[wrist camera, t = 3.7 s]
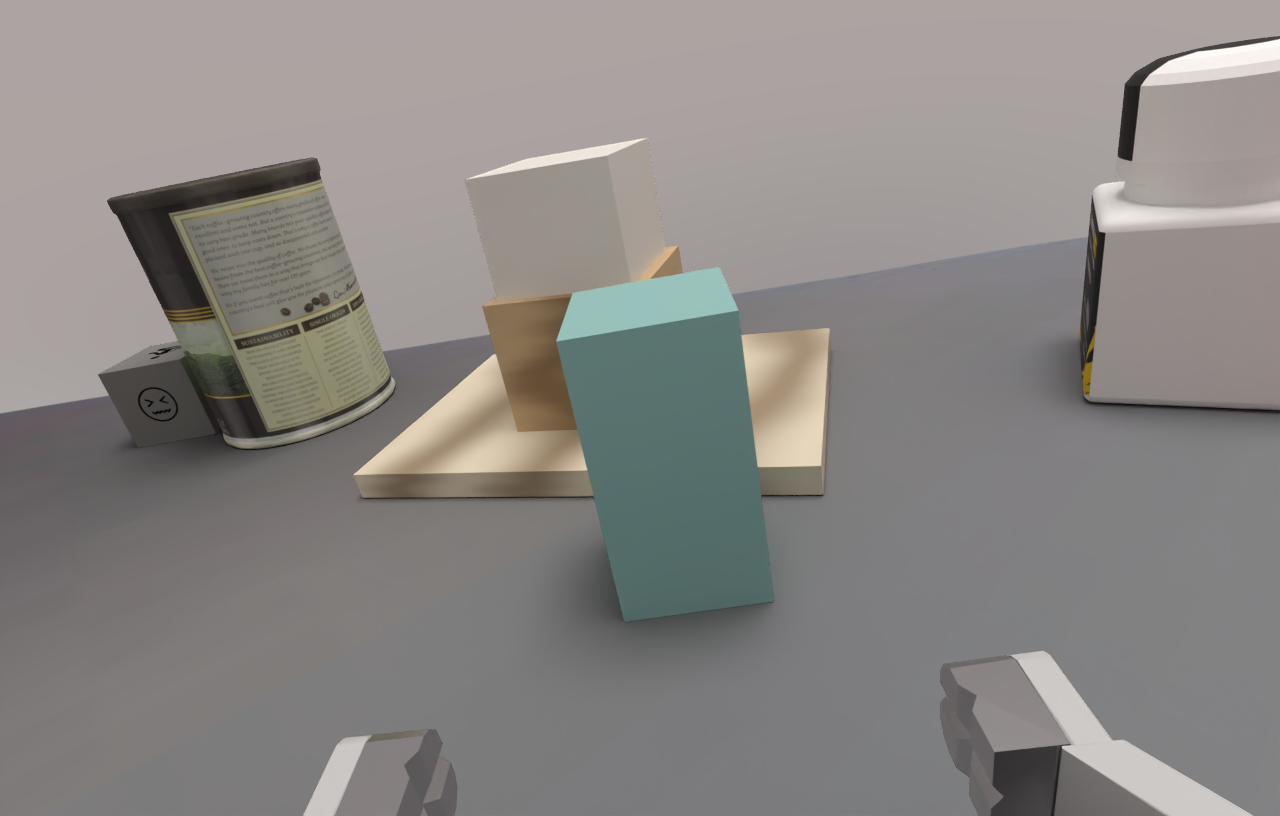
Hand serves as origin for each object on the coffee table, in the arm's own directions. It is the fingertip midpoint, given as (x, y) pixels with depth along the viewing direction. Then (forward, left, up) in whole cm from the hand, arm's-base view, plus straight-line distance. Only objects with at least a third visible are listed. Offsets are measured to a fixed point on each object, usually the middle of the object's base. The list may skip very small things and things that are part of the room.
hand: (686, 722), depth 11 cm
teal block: (-3, +10, -5) cm, 11 cm away
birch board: (-9, +21, -5) cm, 23 cm away
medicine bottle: (+15, +23, -5) cm, 28 cm away
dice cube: (-38, +23, -5) cm, 45 cm away
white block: (-9, +21, +2) cm, 23 cm away
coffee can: (-30, +24, -5) cm, 38 cm away
